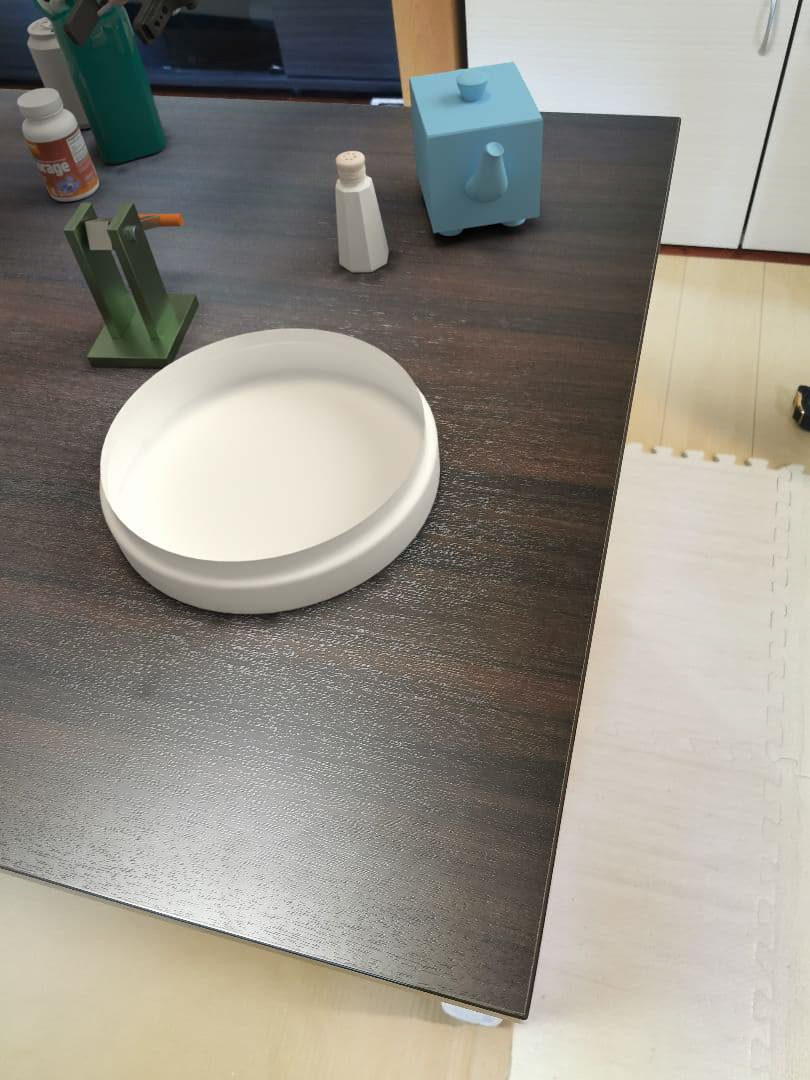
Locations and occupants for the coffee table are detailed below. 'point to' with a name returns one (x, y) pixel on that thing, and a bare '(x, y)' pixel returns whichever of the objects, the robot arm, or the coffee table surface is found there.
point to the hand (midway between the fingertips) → (106, 37)
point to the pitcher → (110, 84)
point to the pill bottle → (57, 146)
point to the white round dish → (270, 470)
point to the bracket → (130, 319)
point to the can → (54, 67)
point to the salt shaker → (358, 217)
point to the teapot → (477, 147)
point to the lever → (101, 239)
